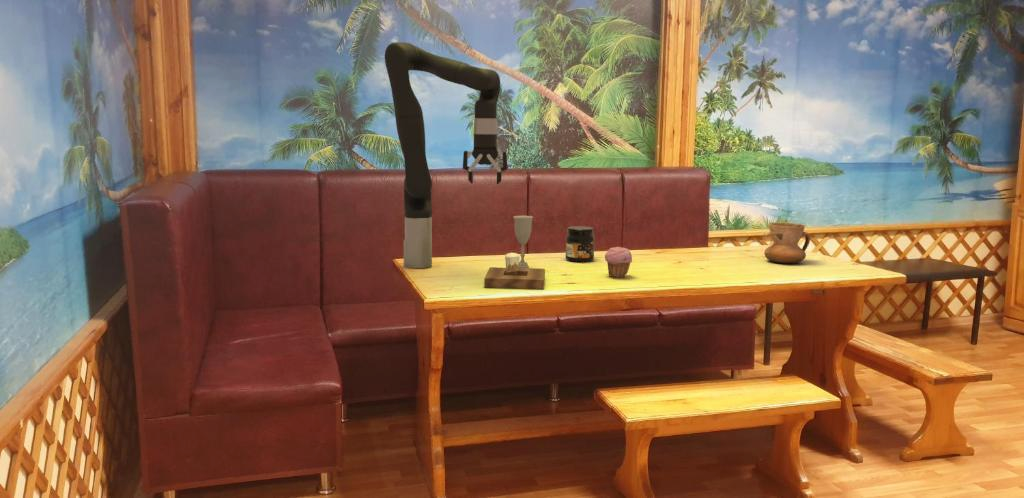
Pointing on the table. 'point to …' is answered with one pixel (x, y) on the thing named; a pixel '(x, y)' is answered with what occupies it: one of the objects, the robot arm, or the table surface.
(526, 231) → the chalice
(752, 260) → the table surface
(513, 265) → the milkshake
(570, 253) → the supplement container
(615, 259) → the cupcake
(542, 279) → the well block
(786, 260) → the ceramic jug
